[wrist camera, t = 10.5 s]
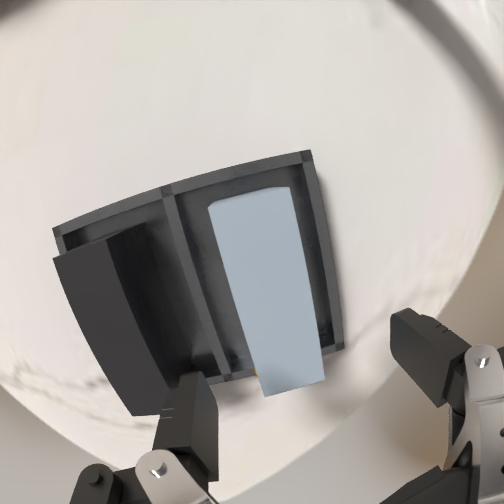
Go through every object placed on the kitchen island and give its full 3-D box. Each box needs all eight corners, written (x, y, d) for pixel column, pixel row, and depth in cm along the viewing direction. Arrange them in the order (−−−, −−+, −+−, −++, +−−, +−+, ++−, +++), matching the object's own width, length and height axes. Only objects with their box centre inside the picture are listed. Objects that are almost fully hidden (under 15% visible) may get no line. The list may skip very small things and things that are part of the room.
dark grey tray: (300, 153, 20) (339, 137, 12) (334, 336, 24) (369, 386, 16) (68, 223, 19) (12, 240, 12) (134, 381, 23) (113, 435, 16)
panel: (267, 187, 20) (289, 186, 13) (299, 329, 22) (324, 379, 16) (214, 201, 19) (207, 207, 13) (254, 342, 22) (264, 397, 16)
